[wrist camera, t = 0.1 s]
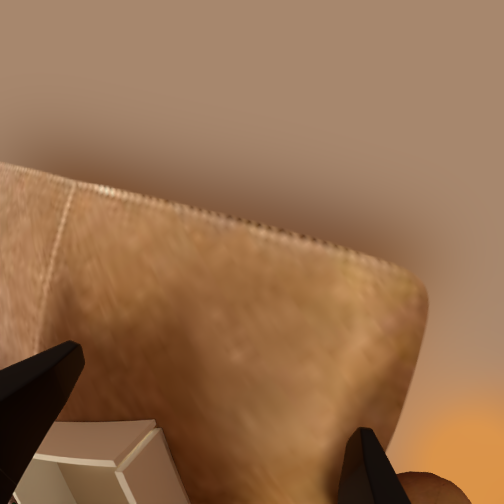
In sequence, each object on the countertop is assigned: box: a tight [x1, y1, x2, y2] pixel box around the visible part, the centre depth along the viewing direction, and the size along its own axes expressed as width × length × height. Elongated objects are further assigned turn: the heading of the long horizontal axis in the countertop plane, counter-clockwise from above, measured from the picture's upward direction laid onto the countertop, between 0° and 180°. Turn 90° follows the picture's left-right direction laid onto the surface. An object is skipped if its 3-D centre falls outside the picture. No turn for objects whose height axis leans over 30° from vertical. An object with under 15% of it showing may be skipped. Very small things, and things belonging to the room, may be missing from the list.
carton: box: [13, 428, 191, 504], centre depth 18 cm, size 11×14×8 cm
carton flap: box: [33, 419, 156, 467], centre depth 18 cm, size 1×14×11 cm, turn 103°
